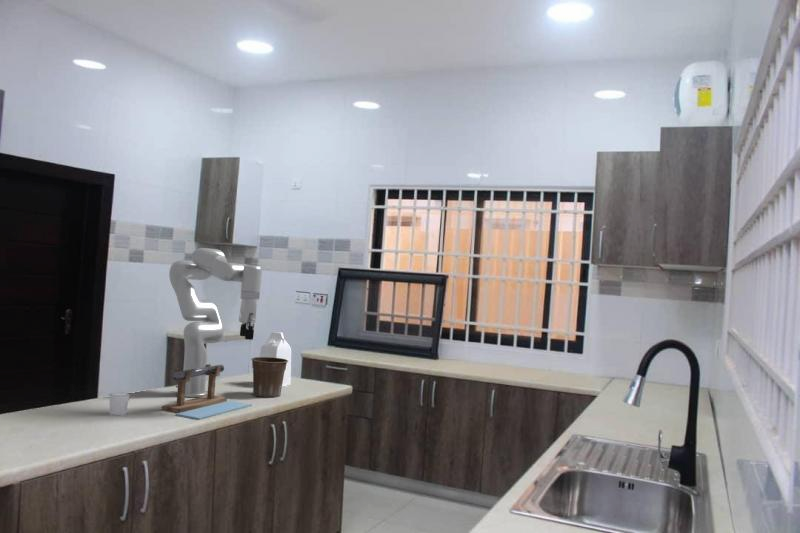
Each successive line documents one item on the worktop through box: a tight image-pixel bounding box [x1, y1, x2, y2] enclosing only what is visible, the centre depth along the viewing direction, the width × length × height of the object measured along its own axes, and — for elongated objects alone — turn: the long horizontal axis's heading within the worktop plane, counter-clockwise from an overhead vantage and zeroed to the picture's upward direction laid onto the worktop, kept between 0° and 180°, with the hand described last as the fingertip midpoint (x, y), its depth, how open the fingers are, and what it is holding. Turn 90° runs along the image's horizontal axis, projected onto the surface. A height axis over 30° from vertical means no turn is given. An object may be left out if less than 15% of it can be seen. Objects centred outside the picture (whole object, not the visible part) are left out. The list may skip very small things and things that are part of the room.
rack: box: [161, 363, 228, 413], centre depth 254 cm, size 9×28×15 cm, turn 158°
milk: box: [259, 331, 292, 387], centre depth 311 cm, size 12×12×26 cm
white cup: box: [108, 392, 130, 416], centre depth 233 cm, size 7×7×7 cm
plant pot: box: [251, 356, 288, 398], centre depth 285 cm, size 16×16×16 cm
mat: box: [175, 400, 253, 420], centre depth 248 cm, size 11×32×1 cm, turn 158°
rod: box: [170, 364, 225, 381], centre depth 254 cm, size 28×3×3 cm, turn 158°
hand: (246, 337), depth 256 cm, fingers open, 9 cm apart
